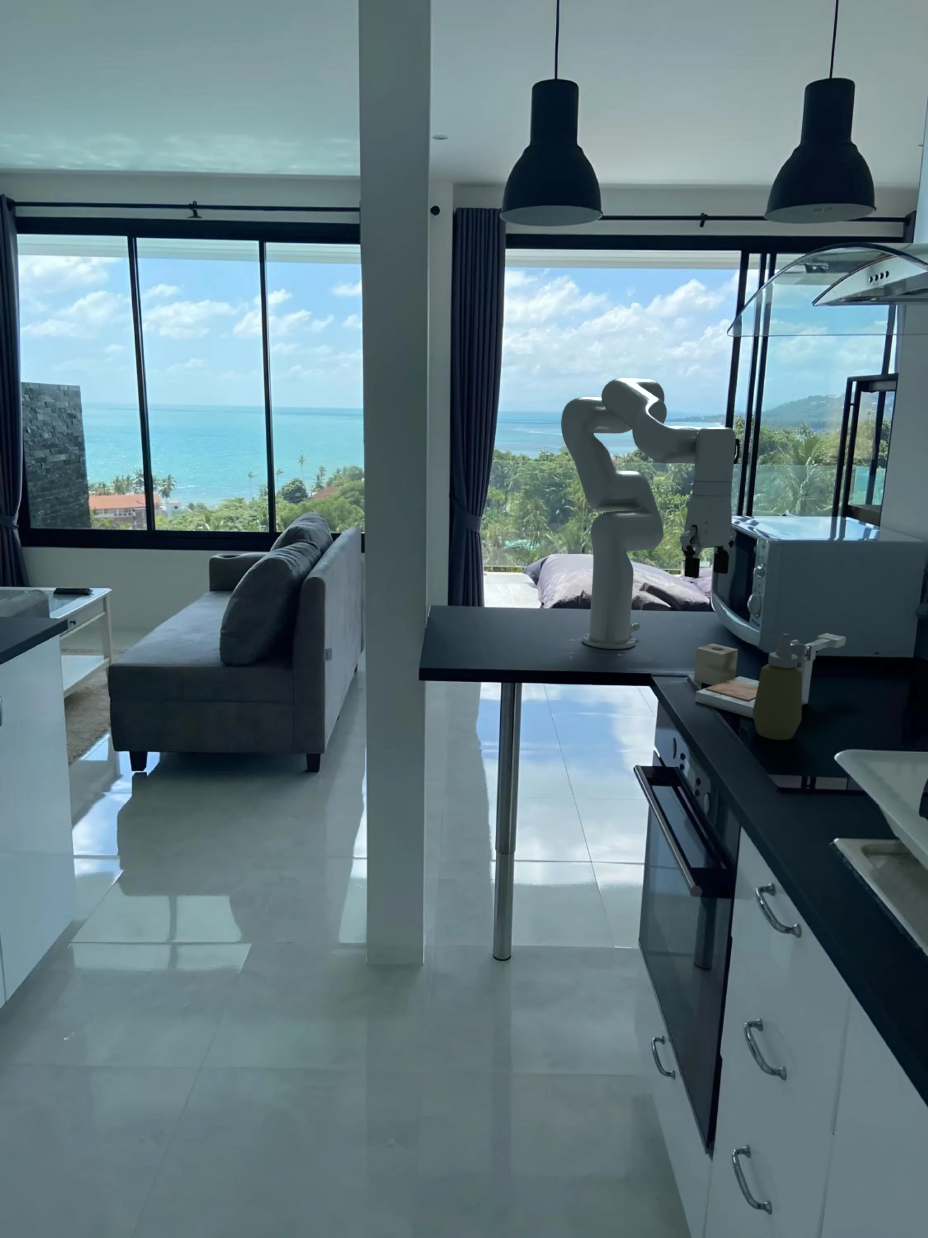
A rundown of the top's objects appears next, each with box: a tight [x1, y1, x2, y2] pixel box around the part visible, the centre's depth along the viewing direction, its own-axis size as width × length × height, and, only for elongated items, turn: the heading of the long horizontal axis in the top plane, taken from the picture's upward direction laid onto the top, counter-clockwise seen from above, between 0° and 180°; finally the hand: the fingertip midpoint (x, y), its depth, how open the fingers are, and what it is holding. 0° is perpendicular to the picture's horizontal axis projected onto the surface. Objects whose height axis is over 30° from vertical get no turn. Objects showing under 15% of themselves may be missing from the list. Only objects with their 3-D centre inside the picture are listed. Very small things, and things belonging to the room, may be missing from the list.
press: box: [694, 639, 817, 719], centre depth 166 cm, size 16×15×12 cm
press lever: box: [790, 632, 847, 668], centre depth 168 cm, size 21×4×4 cm, turn 133°
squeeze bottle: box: [753, 633, 803, 741], centre depth 148 cm, size 8×8×18 cm
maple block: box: [693, 643, 739, 686], centre depth 180 cm, size 6×6×7 cm
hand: (706, 575), depth 177 cm, fingers open, 9 cm apart
